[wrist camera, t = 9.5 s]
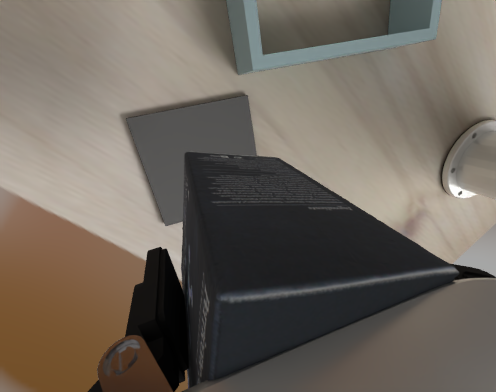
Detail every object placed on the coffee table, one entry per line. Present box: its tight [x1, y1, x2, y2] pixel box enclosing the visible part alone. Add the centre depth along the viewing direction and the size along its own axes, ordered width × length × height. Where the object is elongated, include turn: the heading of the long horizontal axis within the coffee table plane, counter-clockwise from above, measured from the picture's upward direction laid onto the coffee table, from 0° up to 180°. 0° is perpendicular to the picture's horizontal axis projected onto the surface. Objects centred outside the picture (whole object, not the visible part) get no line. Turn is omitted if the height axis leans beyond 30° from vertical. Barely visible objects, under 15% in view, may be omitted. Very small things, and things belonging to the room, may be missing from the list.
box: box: [181, 151, 460, 389], centre depth 10 cm, size 8×6×11 cm
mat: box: [126, 95, 257, 226], centre depth 26 cm, size 12×12×1 cm
